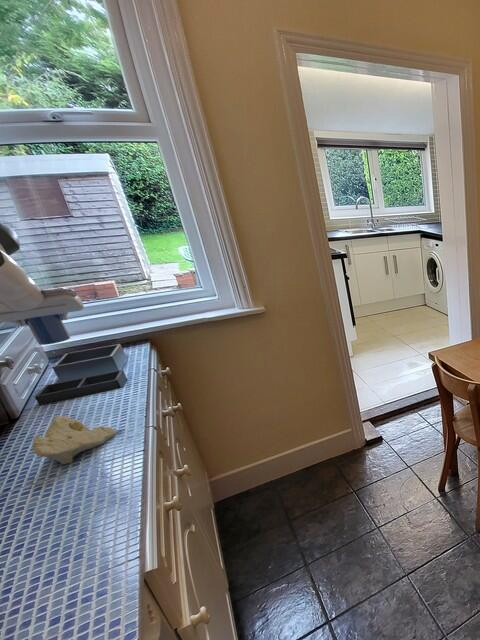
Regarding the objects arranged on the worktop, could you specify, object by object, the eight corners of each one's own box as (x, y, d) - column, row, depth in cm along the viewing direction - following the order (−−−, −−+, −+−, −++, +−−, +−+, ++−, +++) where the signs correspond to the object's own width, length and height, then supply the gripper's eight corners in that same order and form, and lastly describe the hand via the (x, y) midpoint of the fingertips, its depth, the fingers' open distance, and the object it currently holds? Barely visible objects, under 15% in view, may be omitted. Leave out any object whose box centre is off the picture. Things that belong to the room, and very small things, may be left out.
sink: (61, 384, 131) (51, 367, 128) (74, 369, 142) (65, 353, 139) (120, 372, 138) (112, 355, 135) (127, 359, 149) (120, 343, 146)
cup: (35, 346, 118) (14, 309, 113) (43, 340, 123) (23, 304, 118) (66, 341, 121) (47, 305, 117) (73, 335, 126) (55, 300, 122)
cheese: (94, 442, 102) (6, 435, 89) (111, 418, 102) (26, 407, 89) (112, 481, 95) (19, 480, 82) (130, 456, 95) (40, 450, 82)
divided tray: (40, 407, 116) (34, 396, 115) (51, 395, 123) (45, 385, 122) (122, 390, 125) (117, 379, 123) (127, 379, 132) (122, 369, 131)
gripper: (69, 277, 115) (90, 305, 126) (-42, 291, 104) (-8, 319, 115) (74, 296, 114) (94, 322, 125) (-38, 311, 103) (-4, 338, 114)
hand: (44, 321), depth 120 cm, fingers closed on cup, 7 cm apart
